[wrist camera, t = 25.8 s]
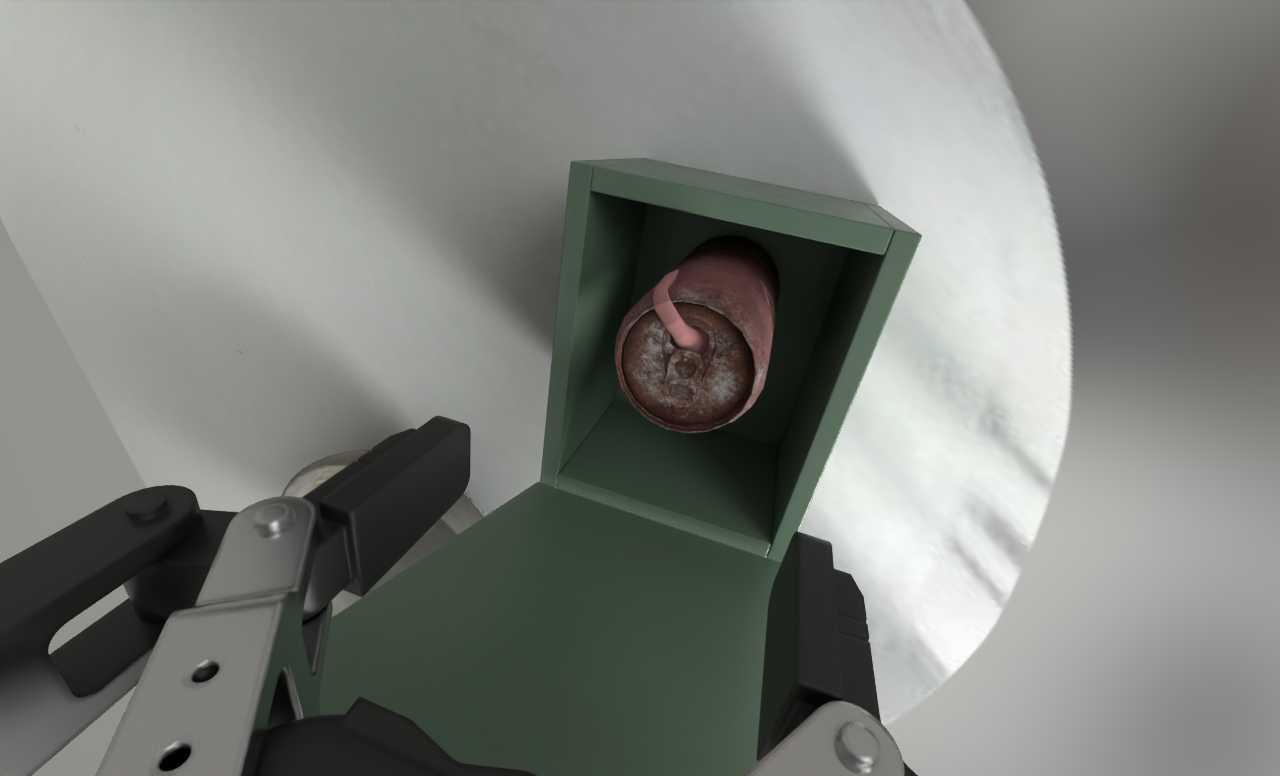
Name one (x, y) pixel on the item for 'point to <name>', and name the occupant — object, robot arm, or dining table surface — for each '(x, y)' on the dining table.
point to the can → (701, 337)
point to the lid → (567, 644)
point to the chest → (799, 358)
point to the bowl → (437, 535)
